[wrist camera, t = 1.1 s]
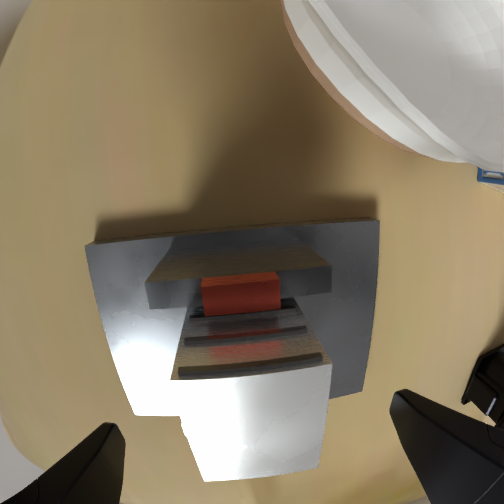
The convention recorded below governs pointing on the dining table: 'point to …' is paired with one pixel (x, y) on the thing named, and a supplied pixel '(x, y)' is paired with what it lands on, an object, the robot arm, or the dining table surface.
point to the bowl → (412, 70)
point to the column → (252, 391)
